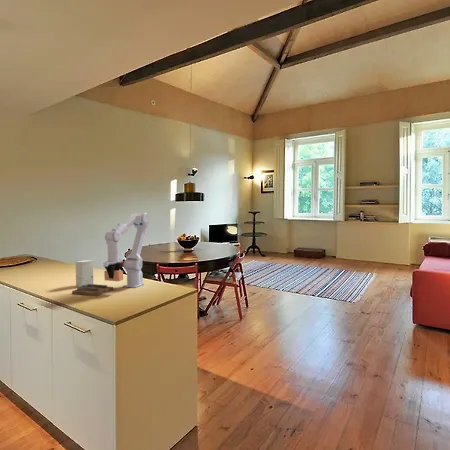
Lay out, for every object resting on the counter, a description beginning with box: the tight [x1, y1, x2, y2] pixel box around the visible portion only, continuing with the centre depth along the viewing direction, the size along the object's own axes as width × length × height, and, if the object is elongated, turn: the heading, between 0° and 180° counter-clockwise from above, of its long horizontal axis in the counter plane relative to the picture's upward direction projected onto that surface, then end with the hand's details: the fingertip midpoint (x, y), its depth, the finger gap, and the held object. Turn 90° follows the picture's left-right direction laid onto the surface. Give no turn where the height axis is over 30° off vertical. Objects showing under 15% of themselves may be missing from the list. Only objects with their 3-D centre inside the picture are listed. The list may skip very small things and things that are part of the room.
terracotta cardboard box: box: [104, 270, 124, 282], centre depth 181 cm, size 4×9×5 cm, turn 73°
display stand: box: [71, 283, 114, 297], centre depth 184 cm, size 14×16×3 cm
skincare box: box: [75, 259, 94, 287], centre depth 198 cm, size 8×6×15 cm
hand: (113, 277), depth 181 cm, fingers closed on terracotta cardboard box, 4 cm apart
